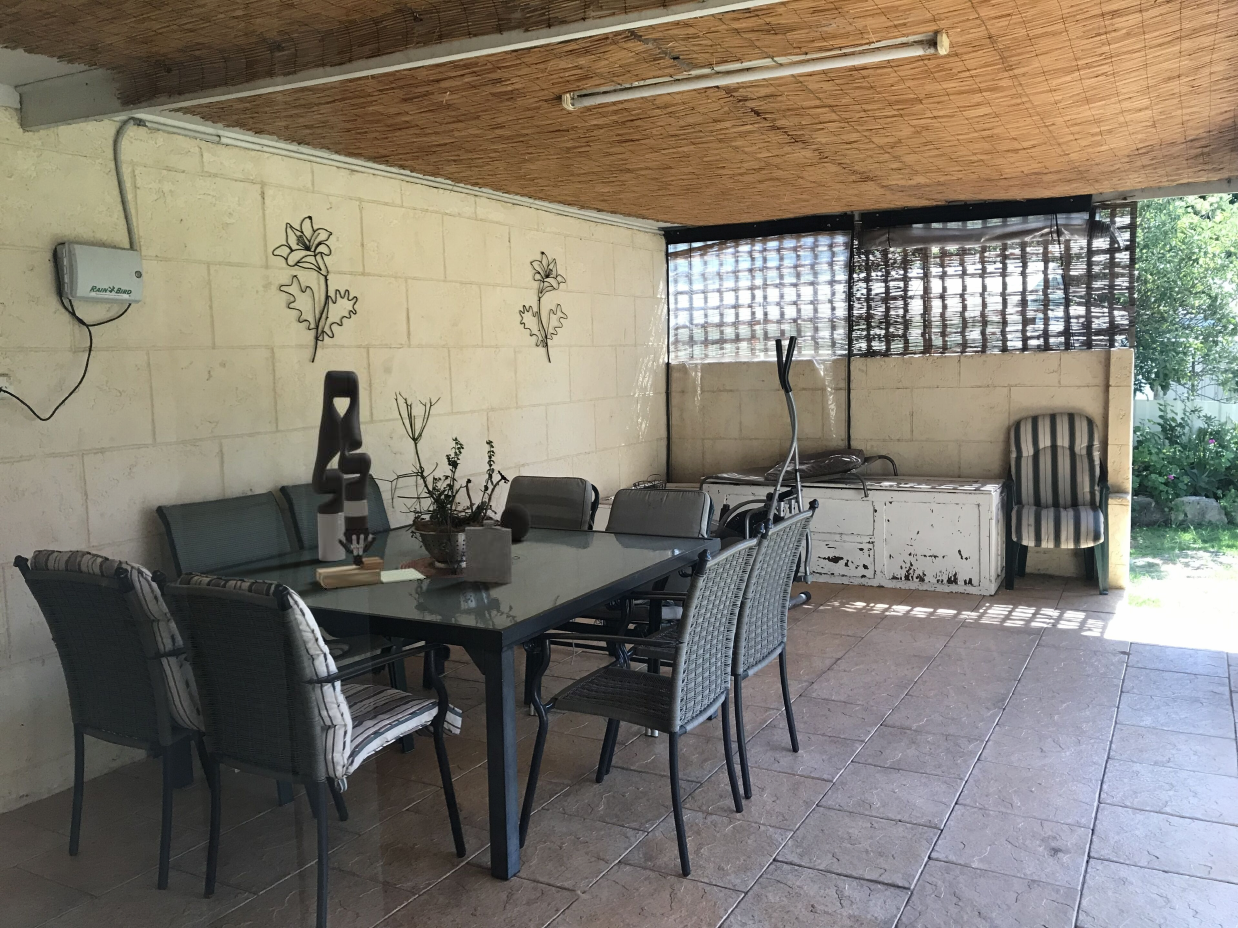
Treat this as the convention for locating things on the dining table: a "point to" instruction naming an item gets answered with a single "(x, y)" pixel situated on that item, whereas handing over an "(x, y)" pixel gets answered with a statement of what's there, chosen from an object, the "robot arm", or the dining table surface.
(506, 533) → the hip flask
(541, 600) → the dining table surface
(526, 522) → the decorative egg
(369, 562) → the walnut tile
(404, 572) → the sage mat
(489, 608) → the dining table surface
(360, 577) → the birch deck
